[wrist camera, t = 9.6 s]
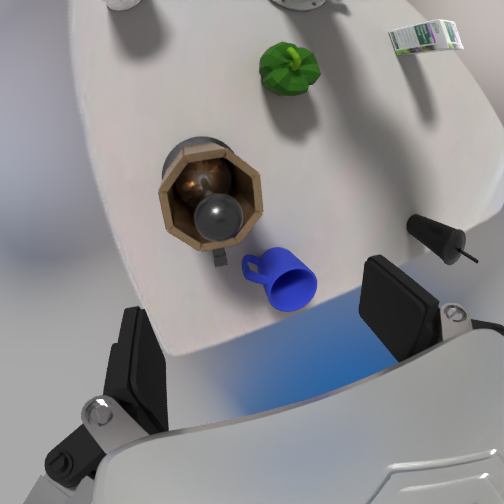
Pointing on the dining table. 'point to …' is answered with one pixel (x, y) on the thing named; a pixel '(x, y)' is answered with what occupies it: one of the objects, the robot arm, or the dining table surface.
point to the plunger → (211, 198)
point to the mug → (282, 278)
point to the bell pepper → (288, 69)
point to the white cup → (121, 4)
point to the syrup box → (426, 37)
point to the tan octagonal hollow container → (182, 214)
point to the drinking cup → (439, 238)
